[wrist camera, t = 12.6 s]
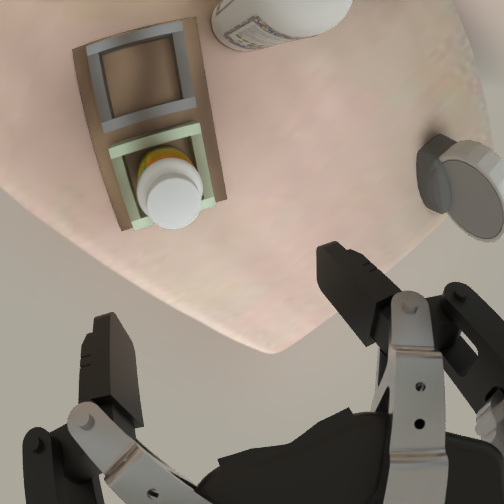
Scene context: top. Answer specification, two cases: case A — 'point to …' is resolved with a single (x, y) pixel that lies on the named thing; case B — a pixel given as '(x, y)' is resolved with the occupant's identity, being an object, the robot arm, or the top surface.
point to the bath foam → (274, 21)
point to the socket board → (148, 109)
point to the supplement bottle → (169, 187)
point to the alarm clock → (464, 185)
